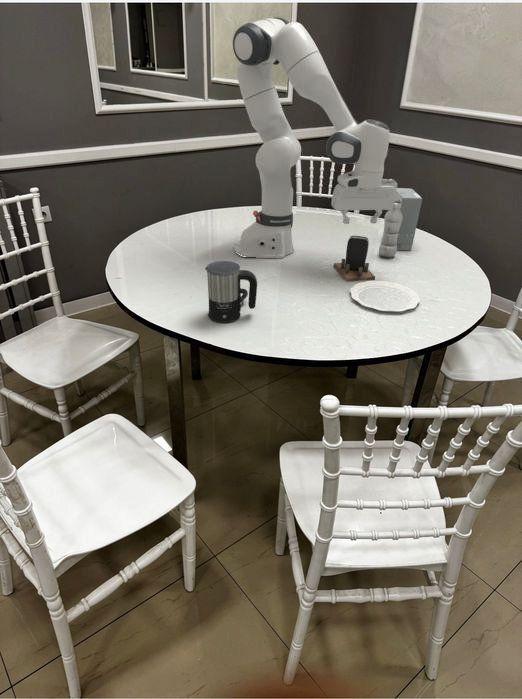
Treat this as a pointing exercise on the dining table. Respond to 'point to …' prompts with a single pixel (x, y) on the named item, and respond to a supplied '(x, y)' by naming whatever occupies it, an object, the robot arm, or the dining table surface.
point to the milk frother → (228, 290)
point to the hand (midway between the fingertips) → (359, 223)
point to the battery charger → (356, 252)
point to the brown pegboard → (354, 272)
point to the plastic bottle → (391, 231)
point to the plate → (388, 285)
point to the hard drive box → (407, 216)
